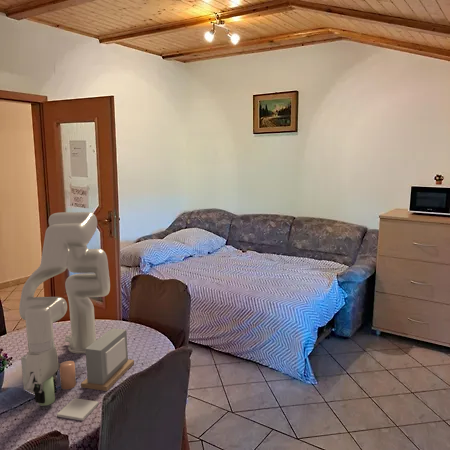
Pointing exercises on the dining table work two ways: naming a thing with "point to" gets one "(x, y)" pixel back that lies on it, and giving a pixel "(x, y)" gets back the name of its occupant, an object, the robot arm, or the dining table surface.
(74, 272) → the robot arm
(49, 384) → the sage part
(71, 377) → the terracotta part
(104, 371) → the box
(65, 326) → the dining table surface
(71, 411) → the grey pad
